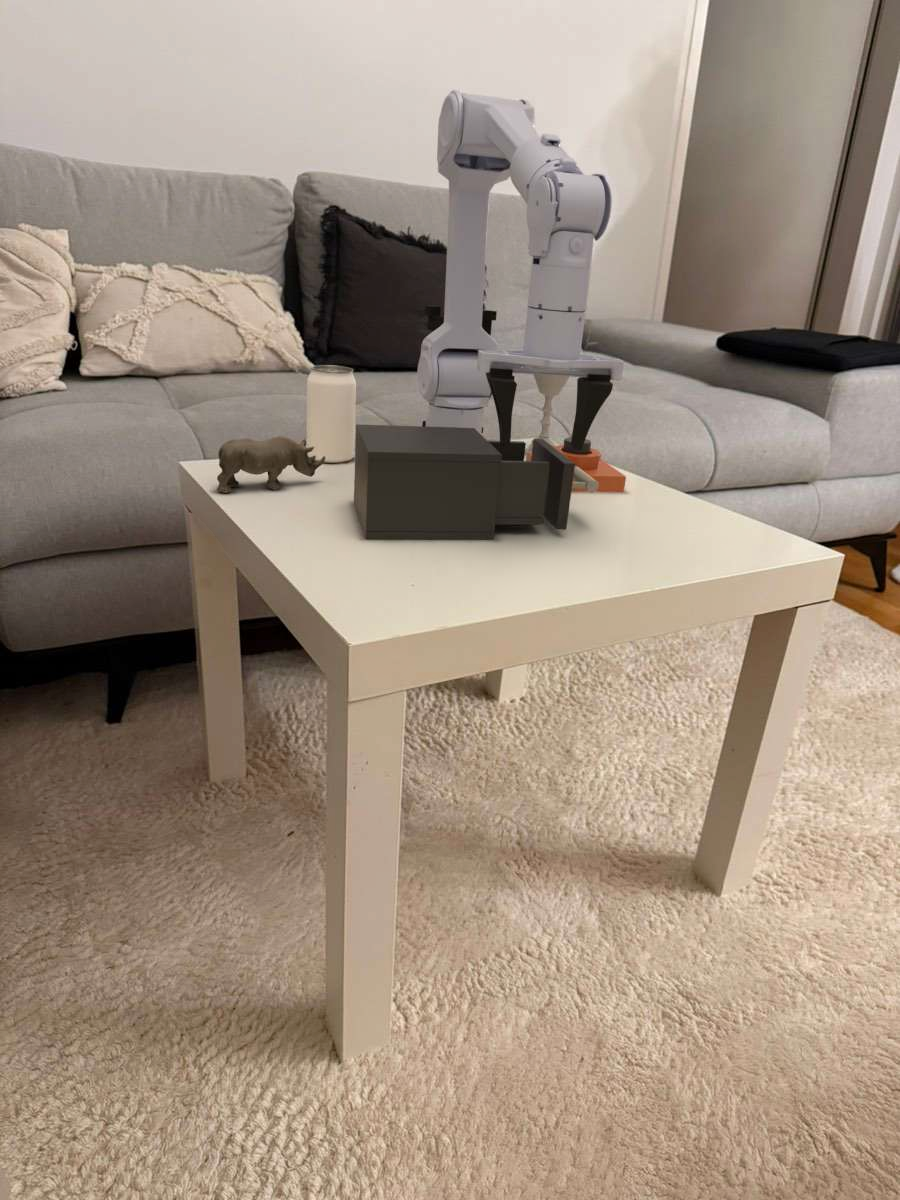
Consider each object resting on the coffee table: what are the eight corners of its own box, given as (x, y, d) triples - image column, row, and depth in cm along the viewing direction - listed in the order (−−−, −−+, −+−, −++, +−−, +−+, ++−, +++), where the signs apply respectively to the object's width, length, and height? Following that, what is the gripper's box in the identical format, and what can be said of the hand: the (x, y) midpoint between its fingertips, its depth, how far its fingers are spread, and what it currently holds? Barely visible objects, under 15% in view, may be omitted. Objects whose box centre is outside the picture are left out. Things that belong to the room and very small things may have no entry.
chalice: (512, 455, 126) (525, 328, 119) (524, 446, 132) (537, 325, 125) (560, 462, 124) (576, 334, 117) (570, 453, 130) (586, 330, 123)
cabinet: (468, 504, 101) (474, 427, 98) (493, 539, 90) (502, 454, 86) (353, 502, 98) (356, 424, 95) (365, 539, 87) (368, 451, 84)
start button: (559, 449, 115) (560, 436, 114) (584, 450, 116) (585, 437, 115) (567, 456, 112) (569, 443, 111) (593, 456, 113) (595, 443, 112)
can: (345, 466, 113) (348, 374, 108) (299, 460, 114) (299, 369, 110) (360, 455, 119) (362, 367, 114) (316, 450, 120) (316, 363, 115)
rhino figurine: (332, 486, 104) (333, 437, 101) (220, 495, 97) (219, 443, 95) (319, 477, 107) (319, 430, 105) (210, 486, 100) (208, 435, 98)
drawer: (568, 499, 103) (576, 439, 100) (602, 530, 93) (612, 464, 90) (434, 497, 99) (438, 435, 97) (453, 529, 89) (458, 461, 86)
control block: (525, 467, 120) (528, 439, 118) (591, 468, 122) (595, 441, 120) (550, 491, 109) (554, 461, 107) (623, 492, 111) (628, 462, 109)
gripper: (489, 307, 79) (477, 452, 84) (640, 318, 80) (618, 458, 86) (479, 301, 85) (468, 436, 90) (619, 311, 87) (600, 442, 92)
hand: (540, 446), depth 89 cm, fingers open, 7 cm apart
